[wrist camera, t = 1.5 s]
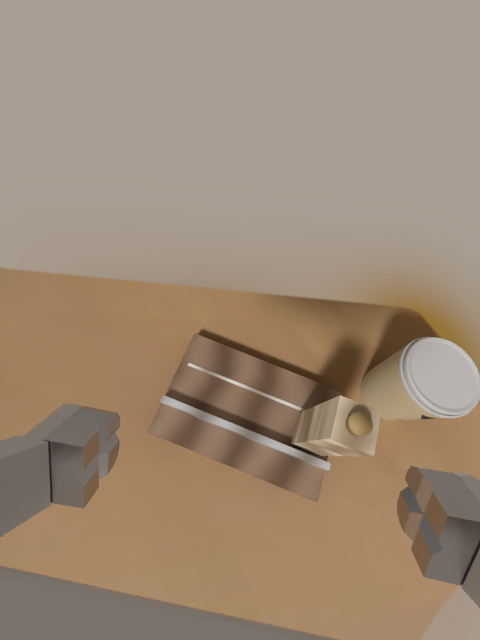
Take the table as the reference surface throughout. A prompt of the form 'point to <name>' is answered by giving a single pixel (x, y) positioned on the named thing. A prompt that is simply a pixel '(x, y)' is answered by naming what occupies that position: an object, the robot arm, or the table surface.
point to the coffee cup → (423, 382)
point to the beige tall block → (338, 428)
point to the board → (243, 415)
